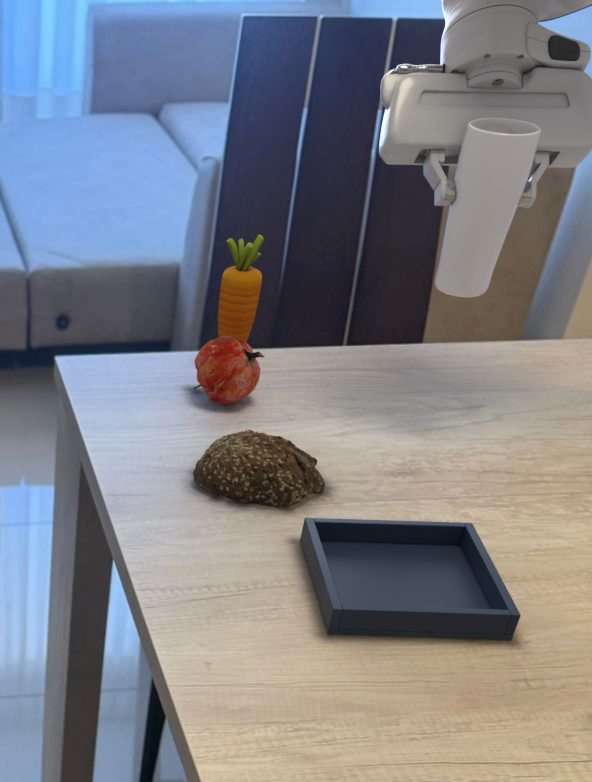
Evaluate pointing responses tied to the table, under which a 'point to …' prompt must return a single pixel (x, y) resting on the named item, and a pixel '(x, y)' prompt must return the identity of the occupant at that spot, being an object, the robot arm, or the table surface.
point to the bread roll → (258, 470)
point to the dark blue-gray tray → (406, 580)
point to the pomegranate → (227, 369)
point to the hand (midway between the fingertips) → (485, 203)
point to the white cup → (484, 203)
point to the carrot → (240, 291)
